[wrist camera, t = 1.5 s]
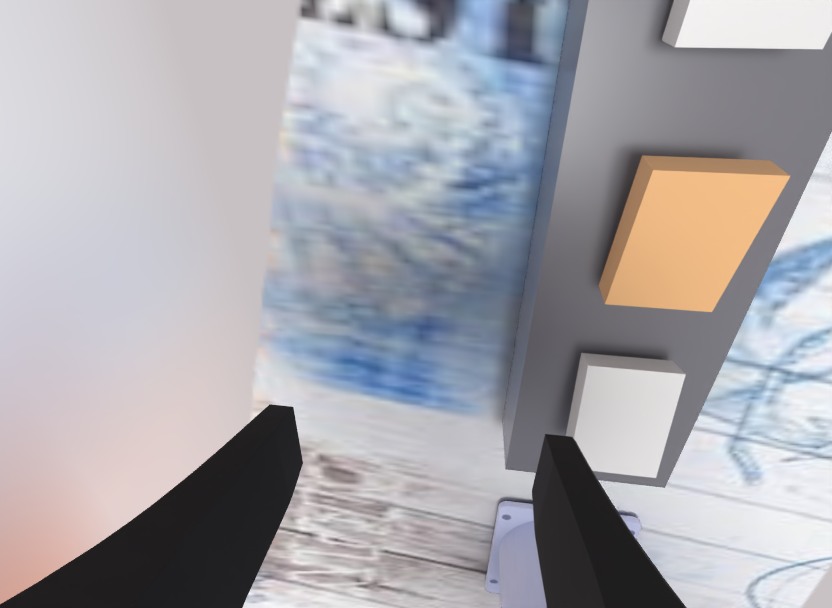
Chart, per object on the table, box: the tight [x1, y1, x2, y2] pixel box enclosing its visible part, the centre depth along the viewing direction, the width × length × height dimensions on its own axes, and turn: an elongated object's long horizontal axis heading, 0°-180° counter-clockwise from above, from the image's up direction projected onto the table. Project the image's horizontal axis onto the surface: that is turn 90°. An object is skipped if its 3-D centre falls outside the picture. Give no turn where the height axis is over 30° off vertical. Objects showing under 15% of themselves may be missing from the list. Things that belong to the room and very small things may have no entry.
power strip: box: [503, 0, 832, 488], centre depth 14 cm, size 26×7×3 cm, turn 179°
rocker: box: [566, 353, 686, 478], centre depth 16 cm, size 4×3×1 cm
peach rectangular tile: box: [599, 155, 790, 312], centre depth 12 cm, size 4×3×1 cm
